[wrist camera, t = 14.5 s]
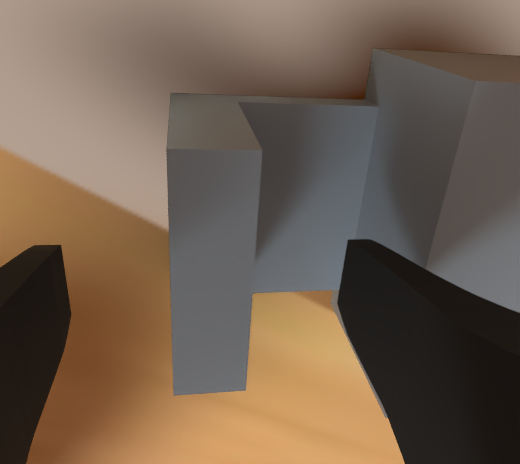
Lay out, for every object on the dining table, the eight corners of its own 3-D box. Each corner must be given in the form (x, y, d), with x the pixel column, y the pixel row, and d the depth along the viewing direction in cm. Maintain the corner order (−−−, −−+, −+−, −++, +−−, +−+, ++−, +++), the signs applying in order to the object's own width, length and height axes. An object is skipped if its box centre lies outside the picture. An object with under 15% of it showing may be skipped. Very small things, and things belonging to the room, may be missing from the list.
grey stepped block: (175, 309, 19) (174, 435, 14) (169, 36, 14) (164, 66, 9) (542, 294, 21) (660, 394, 16) (639, 62, 17) (847, 97, 12)
